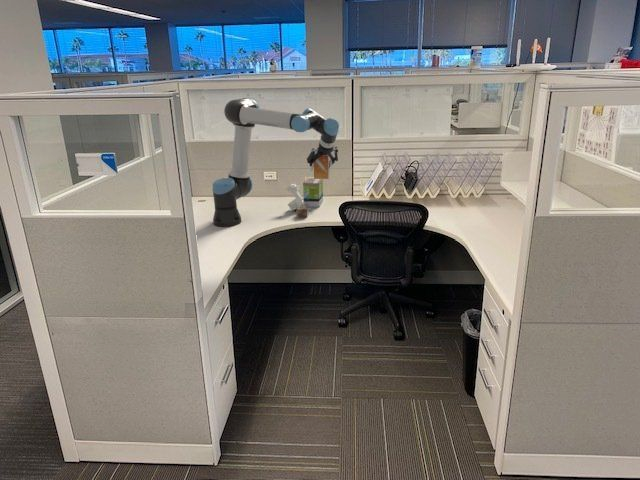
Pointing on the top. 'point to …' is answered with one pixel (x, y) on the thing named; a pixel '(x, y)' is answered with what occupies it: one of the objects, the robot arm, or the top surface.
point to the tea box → (312, 192)
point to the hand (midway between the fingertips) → (320, 167)
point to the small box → (321, 167)
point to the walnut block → (301, 212)
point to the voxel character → (298, 198)
